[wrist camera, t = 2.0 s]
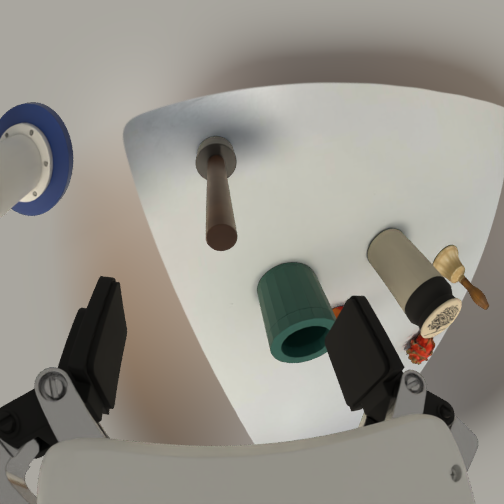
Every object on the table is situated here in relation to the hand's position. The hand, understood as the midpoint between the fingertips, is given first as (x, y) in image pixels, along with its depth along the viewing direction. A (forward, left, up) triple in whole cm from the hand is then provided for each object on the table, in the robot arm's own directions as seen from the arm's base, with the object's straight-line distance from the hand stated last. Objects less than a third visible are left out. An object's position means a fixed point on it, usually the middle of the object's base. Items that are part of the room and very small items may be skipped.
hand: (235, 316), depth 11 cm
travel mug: (+31, -10, -26) cm, 42 cm away
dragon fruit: (+62, -38, -26) cm, 77 cm away
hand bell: (+51, -11, -26) cm, 58 cm away
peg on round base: (0, 0, -26) cm, 26 cm away
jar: (+15, -20, -26) cm, 36 cm away
